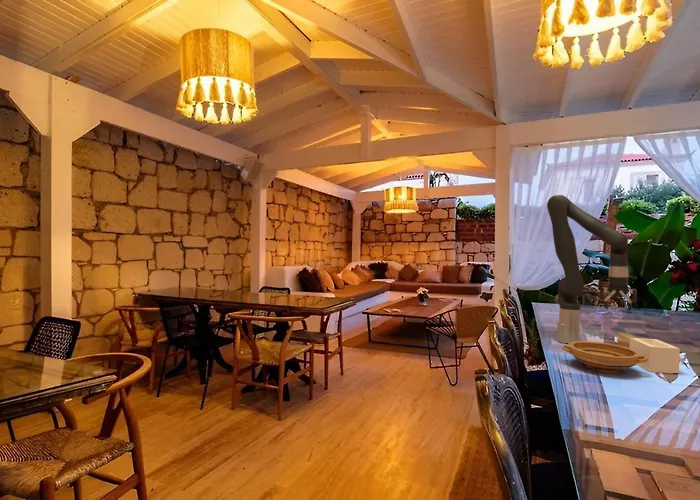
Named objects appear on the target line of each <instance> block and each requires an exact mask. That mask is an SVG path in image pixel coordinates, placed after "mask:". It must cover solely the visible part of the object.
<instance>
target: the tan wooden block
mask: <svg viewBox="0 0 700 500" xmlns="http://www.w3.org/2000/svg"><path fill="white" fill-rule="evenodd" d="M616 337H617V341H616V345H619V346H623V347H626V348H629V347H630V338H638V337H637V336H635V335H633V334H630V333H629V332H617V336H616Z"/></svg>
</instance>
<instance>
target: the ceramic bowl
mask: <svg viewBox="0 0 700 500" xmlns="http://www.w3.org/2000/svg"><path fill="white" fill-rule="evenodd" d="M560 347H561V349H562V350H563V351H565V352H567V353H569V354H570V355H572V356H573V357H574V358H575V359H576V360H578V361H579V362H581V363H583V364H585V366H586V367H587V368H588V367H589V368H588V369H590V368H591V369H590V370H594V371H597V372H603V373H612V374H613V373H618V372H619V371H620V370H624V369H630V368H632V367H633V366H636V364H638V363H642V362H646V361H647V360H648V357H646V356H640V354H639V353H638V352H637V351H635V350H632V349H630V348H626V347H623V346H619V345H617V344H614V343H607V342H600V341H592V340H591V341H586V340H579V341H576V342H571V343H569V344H562V345H561V346H560ZM638 359H641V360H638Z"/></svg>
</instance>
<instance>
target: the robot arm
mask: <svg viewBox="0 0 700 500" xmlns="http://www.w3.org/2000/svg"><path fill="white" fill-rule="evenodd" d="M546 206H547V211H548V213H549V214H548V215H549V218H550V222H551V227H552V236H553V244H554V249H555V254H556V257H557V259H558V260H559V262H560V264H561V266H562V268H563V273H564V277H562V278H561V279H560V280H559V282H558V287H557V289H558V290H557V295H558V297H557V302H558V304H559V313H558V315H559V317H558V321H557V324H556V325H557V328H556V329H557V330H556V341H558V342H559V343H560V342H561V344H566V343H568V344H567V345H569V343H571V342H576V341H580V329H581V328H580V325H581V324H580V323H581V322H580V321H581V304H580V302H579V300H578V298H577V297H579V296H581V295H582V294H583V292H584V289H585V285H584V279H583V277H582V274H581V269H580V264H579V257H578V253H577V247H576V240H575V236H574V233H573V231H572V229H571V226H570V223H569V220H568V219H569V218H570V219H571V220H573V221H574V222H576V223H577V224H578V225H579V226H581V228H582V229H585V230H586V231H587V232H588V233H590V234H591V235H594V236H596V237H597V238H600V239H601V240H602V241H604V242H605V243H606V244H608V245H609V247H610V255H609V267H608V287H605V286H601V288H600V291H599V292H600V295H599V299H600V300H602V301H603V302H604V305H603V306H604V308H605V309H606V310H609V300H610V299H611V298H612V297H613V298H620V299H621V298H624V299H625V300H626V302H627V312H631V310H632V309H633V308H632V307H633V303H637V301H638V299H637V298H638V296H637V295H638V294H637V289H636V288H632V289H631V288H629V268H628V267H629V265H628V263H629V262H628V261H629V260H628V246H629V238H628V237H627V236H626V235H625V234H624V233H622V232H620V231H618V230H617V229H614V228H613V227H610V225H608V224H607V223H605V222H604V221H602V220H600V219H598V218H597V217H595V216H593V215H591V214H590V213H588V212H586V211H585V210H583V209H582V208H580V207H579V206H577V205H576V204H575V203H574V202H572V201H571V200H570V199H569V198H568V197H567V196H566V195H563V194H555V195H553V196H551V197H550V198H549V199H548V200H547V202H546ZM607 291H608V293H609V294H608V295H607V296H606V297H605V292H607ZM628 293H630V294H632V299H631V298H630V296H629V295H628Z"/></svg>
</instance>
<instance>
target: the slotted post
mask: <svg viewBox="0 0 700 500" xmlns="http://www.w3.org/2000/svg"><path fill="white" fill-rule="evenodd" d="M629 348H630V349H632V350H635V351H637V352H638V353H639V354H640V356H646V357H648V360H647V361H646V362H642V363H638V364H635V366H636V365H637V366H638V367H639V368H641V369H643V370H645V371H647V372H649V373H659V374H660V373H661V374H673V373H680V355H681V354H680V352H681V351H680V350H681V349H680V348H679V347H677V346H675V345H672V344H669V343H666V342H665V341H663V340H659V339H656V338H654V339H653V338H641V337H637V338H630V347H629ZM638 360H641V359H638Z"/></svg>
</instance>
